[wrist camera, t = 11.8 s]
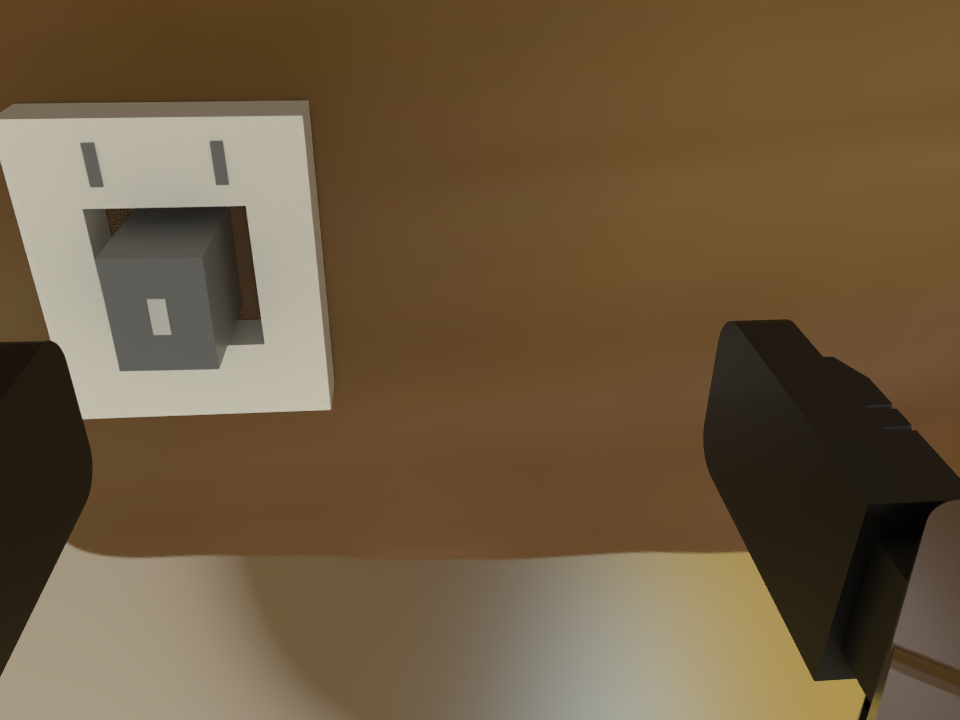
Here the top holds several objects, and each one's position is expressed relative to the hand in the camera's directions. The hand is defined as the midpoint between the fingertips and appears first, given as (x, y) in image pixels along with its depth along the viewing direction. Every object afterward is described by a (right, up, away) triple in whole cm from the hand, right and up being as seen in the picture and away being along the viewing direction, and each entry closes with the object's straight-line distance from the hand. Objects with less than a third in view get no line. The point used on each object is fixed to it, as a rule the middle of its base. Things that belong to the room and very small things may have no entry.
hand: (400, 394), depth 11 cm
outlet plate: (-12, +5, +28) cm, 31 cm away
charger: (-12, +5, +29) cm, 32 cm away
